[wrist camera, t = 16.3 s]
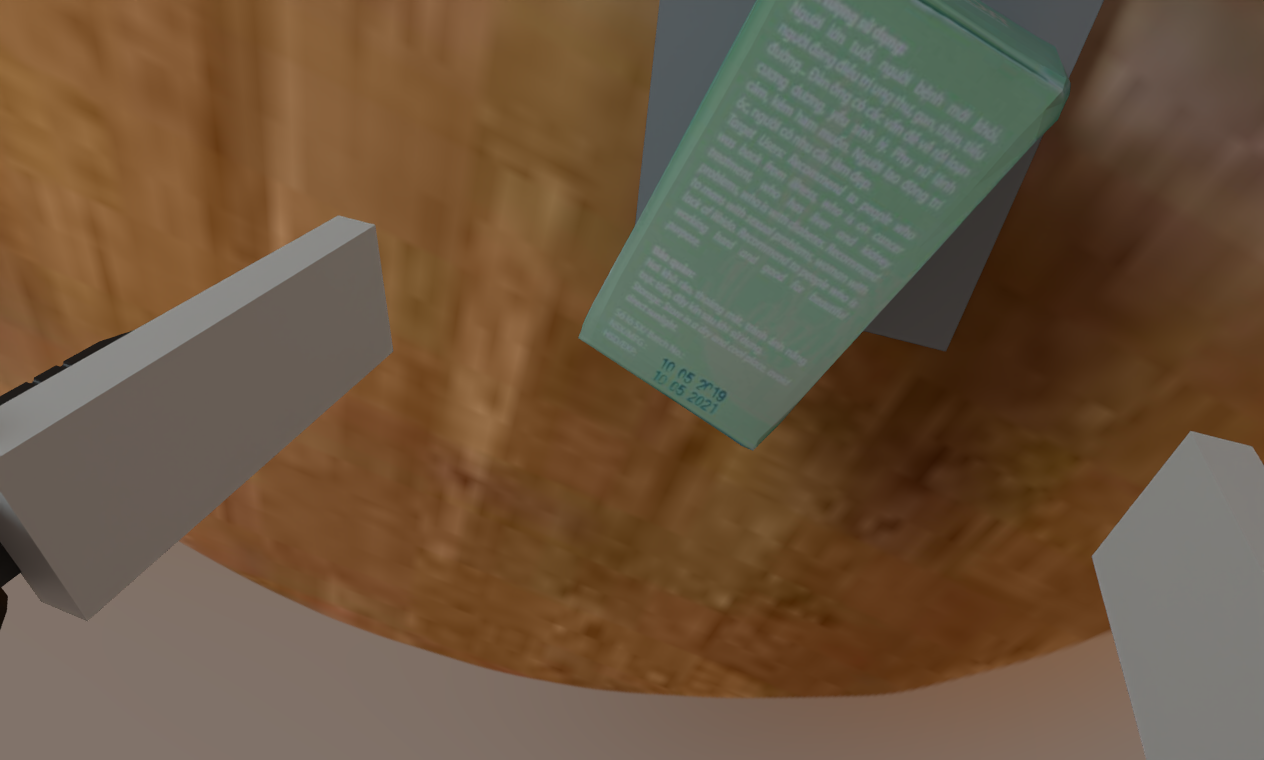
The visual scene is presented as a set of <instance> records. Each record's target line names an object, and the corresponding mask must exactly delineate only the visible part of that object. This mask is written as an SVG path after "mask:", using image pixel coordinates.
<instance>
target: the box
mask: <svg viewBox="0 0 1264 760" xmlns="http://www.w3.org/2000/svg"><path fill="white" fill-rule="evenodd" d="M1070 86H1071V83H1070V81H1069V79H1068V76H1067V74H1066V72H1065V69H1064V67H1063V65H1062V62H1061V60H1060V57H1059V55H1058V52H1057V50H1056V47H1055V46H1053V45H1051V44H1050V43H1048V42H1046V41H1044V40H1042V39H1041V38H1039V37H1037V36H1035V35H1034V34H1032V33H1030V32H1029V31H1027V30H1026V29H1024V28H1022V27H1021V26H1019V25H1018V24H1016V23H1015V22H1013V21H1011V20H1010V19H1008V18H1007V17H1005V16H1003V15H1002V14H1000V13H999V12H997V11H996V10H994V9H992V8H991V7H989V6H988V5H986V4H985V3H983V2H981V1H980V0H756V1H755V3H754V5H753V7H752V9H751V11H750V12H749V14H748V16H747V18H746V20H745V22H744V24H743V26H742V27H741V29H740V31H739V33H738V35H737V37H736V39H735V40H734V42H733V44H732V46H731V48H730V50H729V52H728V53H727V55H726V57H725V59H724V61H723V63H722V65H721V66H720V68H719V70H718V72H717V74H716V76H715V78H714V80H713V81H712V83H711V85H710V87H709V89H708V91H707V93H706V94H705V96H704V98H703V100H702V102H701V104H700V106H699V107H698V109H697V111H696V113H695V115H694V117H693V119H692V121H691V122H690V124H689V126H688V128H687V130H686V132H685V134H684V136H683V137H682V139H681V141H680V143H679V145H678V147H677V149H676V151H675V152H674V154H673V156H672V158H671V160H670V162H669V164H668V166H667V167H666V169H665V171H664V173H663V175H662V177H661V179H660V180H659V182H658V184H657V186H656V188H655V190H654V192H653V194H652V195H651V197H650V199H649V201H648V203H647V205H646V207H645V209H644V210H643V212H642V214H641V216H640V218H639V220H638V222H637V223H636V225H635V227H634V229H633V231H632V233H631V234H630V236H629V238H628V240H627V242H626V243H625V245H624V247H623V249H622V251H621V253H620V254H619V256H618V258H617V260H616V262H615V264H614V265H613V267H612V269H611V271H610V273H609V275H608V277H607V278H606V280H605V282H604V284H603V286H602V288H601V290H600V291H599V293H598V295H597V297H596V299H595V301H594V303H593V305H592V306H591V308H590V310H589V312H588V314H587V316H586V318H585V321H584V323H583V326H582V330H581V333H580V335H579V337H578V338H579V339H581V340H582V341H584V342H585V343H587V344H589V345H590V346H592V347H593V348H595V349H596V350H598V351H599V352H601V353H602V354H604V355H605V356H607V357H608V358H610V359H611V360H613V361H614V362H616V363H617V364H619V365H620V366H622V367H623V368H625V369H627V370H628V371H630V372H631V373H633V374H634V375H636V376H637V377H639V378H640V379H642V380H643V381H645V382H646V383H648V384H649V385H651V386H652V387H654V388H655V389H657V390H658V391H660V392H661V393H663V394H665V395H666V396H668V397H669V398H671V399H672V400H674V401H675V402H677V403H678V404H680V405H681V406H683V407H684V408H686V409H687V410H689V411H690V412H692V413H693V414H695V415H696V416H698V417H699V418H701V419H702V420H704V421H706V422H707V423H709V424H710V425H712V426H713V427H715V428H716V429H718V430H719V431H721V432H722V433H724V434H725V435H727V436H728V437H730V438H731V439H733V440H734V441H735V442H737V443H738V444H740V445H741V446H743V447H746V448H748V449H750V450H754V449H755V448H756V447H757V446H758V445H759V444H760V443H761V442H762V441H763V440H764V439H765V438H766V437H767V436H768V435H769V434H770V433H771V432H772V431H773V430H774V429H775V428H776V427H777V426H778V425H779V424H780V423H781V422H782V421H783V419H784V418H785V417H786V416H787V415H788V414H789V413H790V411H791V410H792V409H793V408H794V407H795V406H796V405H797V403H798V402H799V401H800V400H801V399H802V398H803V397H804V396H805V394H806V393H807V392H808V391H809V390H810V389H811V388H812V387H813V385H814V384H815V383H816V382H817V381H818V380H819V379H820V378H821V377H822V375H823V374H824V373H825V372H826V371H827V370H828V369H829V368H830V367H831V366H832V364H833V363H834V362H835V361H836V360H837V359H838V358H839V357H840V356H841V355H842V353H843V352H844V351H845V350H846V349H847V348H848V347H849V346H850V345H851V344H852V343H853V341H854V340H855V339H856V338H857V337H858V336H859V335H860V334H861V333H862V332H863V331H864V329H865V328H866V327H867V326H868V325H869V324H870V323H871V322H872V321H873V320H874V318H875V317H876V316H877V315H878V314H879V313H880V312H881V311H882V310H883V309H884V308H885V306H886V305H887V304H888V303H889V302H890V301H891V300H892V299H893V298H894V297H895V296H896V295H897V293H898V292H899V291H900V290H901V289H902V288H903V287H904V286H905V285H906V284H907V283H908V282H909V280H910V279H911V278H912V277H913V276H914V275H915V274H916V273H917V272H918V271H919V270H920V269H921V267H922V266H923V265H924V264H925V263H926V262H927V261H928V260H929V259H930V258H931V257H932V255H933V254H934V253H935V252H936V251H937V250H938V249H939V248H940V247H941V245H942V244H943V243H944V242H945V241H946V240H947V239H948V238H949V237H950V235H951V234H952V233H953V232H954V231H955V230H956V229H957V228H958V227H959V225H960V224H961V223H962V222H963V221H964V220H965V219H966V218H967V217H968V215H969V214H970V213H971V212H972V211H973V210H974V209H975V208H976V207H977V205H978V204H979V203H980V202H981V201H982V200H983V199H984V198H985V197H986V195H987V194H988V193H989V192H990V191H991V190H992V189H993V188H994V187H995V186H996V185H997V183H998V182H999V181H1000V180H1001V179H1002V178H1003V177H1004V176H1005V175H1006V174H1007V172H1008V171H1009V170H1010V169H1011V168H1012V167H1013V166H1014V165H1015V164H1016V163H1017V161H1018V160H1019V159H1020V158H1021V157H1022V156H1023V155H1024V154H1025V153H1026V152H1027V151H1028V149H1029V148H1030V147H1031V146H1032V145H1033V144H1034V143H1035V142H1036V141H1037V140H1038V139H1039V138H1040V137H1041V136H1042V135H1043V134H1044V133H1045V132H1046V131H1047V130H1048V129H1049V128H1050V127H1051V126H1052V125H1053V124H1054V123H1055V122H1056V121H1057V120H1058V118H1059V116H1060V114H1061V111H1062V109H1063V107H1064V105H1065V103H1066V101H1067V99H1068V96H1069V94H1070Z"/></svg>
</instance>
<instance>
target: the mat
mask: <svg viewBox="0 0 1264 760" xmlns="http://www.w3.org/2000/svg"><path fill="white" fill-rule="evenodd" d="M755 1H756V0H660V4H659V13H658V22H657V31H656V40H655V50H654V59H653V68H652V77H651V86H650V95H649V104H648V113H647V122H646V132H645V141H644V150H643V159H642V168H641V177H640V186H639V195H638V204H637V214H636V223H637V222H638V220H639V218H640V216H641V214H642V212H643V210H644V209H645V207H646V205H647V203H648V201H649V199H650V197H651V195H652V194H653V192H654V190H655V188H656V186H657V184H658V182H659V180H660V179H661V177H662V175H663V173H664V171H665V169H666V167H667V166H668V164H669V162H670V160H671V158H672V156H673V154H674V152H675V151H676V149H677V147H678V145H679V143H680V141H681V139H682V137H683V136H684V134H685V132H686V130H687V128H688V126H689V124H690V122H691V121H692V119H693V117H694V115H695V113H696V111H697V109H698V107H699V106H700V104H701V102H702V100H703V98H704V96H705V94H706V93H707V91H708V89H709V87H710V85H711V83H712V81H713V80H714V78H715V76H716V74H717V72H718V70H719V68H720V66H721V65H722V63H723V61H724V59H725V57H726V55H727V53H728V52H729V50H730V48H731V46H732V44H733V42H734V40H735V39H736V37H737V35H738V33H739V31H740V29H741V27H742V26H743V24H744V22H745V20H746V18H747V16H748V14H749V12H750V11H751V9H752V7H753V5H754V3H755ZM980 1H981V2H983V3H985V4H986V5H988V6H989V7H991V8H992V9H994V10H996V11H997V12H999V13H1000V14H1002V15H1003V16H1005V17H1007V18H1008V19H1010V20H1011V21H1013V22H1015V23H1016V24H1018V25H1019V26H1021V27H1022V28H1024V29H1026V30H1027V31H1029V32H1030V33H1032V34H1034V35H1035V36H1037V37H1039V38H1041V39H1042V40H1044V41H1046V42H1048V43H1050V44H1051V45H1053V46H1055V47H1056V50H1057V52H1058V55H1059V57H1060V60H1061V62H1062V65H1063V67H1064V69H1065V72H1066V74H1067V76H1068V79H1069V77H1070V74H1071V72H1072V70H1073V68H1074V65H1075V63H1076V61H1077V59H1078V57H1079V54H1080V52H1081V50H1082V48H1083V45H1084V43H1085V41H1086V39H1087V37H1088V34H1089V32H1090V30H1091V28H1092V25H1093V23H1094V21H1095V19H1096V17H1097V14H1098V12H1099V10H1100V8H1101V5H1102V3H1103V1H1104V0H980ZM1042 137H1043V135H1042V136H1041V137H1040V138H1039V139H1038V140H1037V141H1036V142H1035V143H1034V144H1033V145H1032V146H1031V147H1030V148H1029V149H1028V151H1027V152H1026V153H1025V154H1024V155H1023V156H1022V157H1021V158H1020V159H1019V160H1018V161H1017V163H1016V164H1015V165H1014V166H1013V167H1012V168H1011V169H1010V170H1009V171H1008V172H1007V174H1006V175H1005V176H1004V177H1003V178H1002V179H1001V180H1000V181H999V182H998V183H997V185H996V186H995V187H994V188H993V189H992V190H991V191H990V192H989V193H988V194H987V195H986V197H985V198H984V199H983V200H982V201H981V202H980V203H979V204H978V205H977V207H976V208H975V209H974V210H973V211H972V212H971V213H970V214H969V215H968V217H967V218H966V219H965V220H964V221H963V222H962V223H961V224H960V225H959V227H958V228H957V229H956V230H955V231H954V232H953V233H952V234H951V235H950V237H949V238H948V239H947V240H946V241H945V242H944V243H943V244H942V245H941V247H940V248H939V249H938V250H937V251H936V252H935V253H934V254H933V255H932V257H931V258H930V259H929V260H928V261H927V262H926V263H925V264H924V265H923V266H922V267H921V269H920V270H919V271H918V272H917V273H916V274H915V275H914V276H913V277H912V278H911V279H910V280H909V282H908V283H907V284H906V285H905V286H904V287H903V288H902V289H901V290H900V291H899V292H898V293H897V295H896V296H895V297H894V298H893V299H892V300H891V301H890V302H889V303H888V304H887V305H886V306H885V308H884V309H883V310H882V311H881V312H880V313H879V314H878V315H877V316H876V317H875V318H874V320H873V321H872V322H871V323H870V324H869V325H868V326H867V327H866V328H865V329H864V331H866V332H870V333H874V334H878V335H882V336H886V337H890V338H894V339H898V340H902V341H906V342H910V343H914V344H918V345H922V346H926V347H930V348H934V349H938V350H942V351H946V350H947V348H948V346H949V344H950V341H951V339H952V337H953V335H954V332H955V330H956V328H957V326H958V323H959V321H960V319H961V317H962V315H963V312H964V310H965V308H966V306H967V303H968V301H969V299H970V297H971V295H972V292H973V290H974V288H975V286H976V283H977V281H978V279H979V277H980V275H981V272H982V270H983V268H984V266H985V263H986V261H987V259H988V257H989V255H990V252H991V250H992V248H993V246H994V243H995V241H996V239H997V237H998V235H999V232H1000V230H1001V228H1002V226H1003V223H1004V221H1005V219H1006V217H1007V215H1008V212H1009V210H1010V208H1011V206H1012V203H1013V201H1014V199H1015V197H1016V194H1017V192H1018V190H1019V188H1020V186H1021V183H1022V181H1023V179H1024V177H1025V174H1026V172H1027V170H1028V168H1029V166H1030V163H1031V161H1032V159H1033V157H1034V154H1035V152H1036V150H1037V148H1038V146H1039V143H1040V141H1041V139H1042ZM636 223H635V225H636Z"/></svg>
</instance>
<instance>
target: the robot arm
mask: <svg viewBox="0 0 1264 760" xmlns="http://www.w3.org/2000/svg"><path fill="white" fill-rule="evenodd" d="M392 352H393V346H392V339H391V332H390V325H389V318H388V311H387V304H386V297H385V290H384V284H383V277H382V270H381V263H380V256H379V249H378V242H377V235H376V228H375V225H373V224H369V223H365V222H362V221H358V220H354V219H350V218H346V217H342V216H337V217H335V218H333V219H331V220H330V221H328V222H326V223H324V224H322V225H321V226H319V227H317V228H315V229H314V230H312V231H310V232H308V233H306V234H305V235H303V236H301V237H299V238H298V239H296V240H294V241H292V242H290V243H289V244H287V245H285V246H283V247H282V248H280V249H278V250H276V251H274V252H273V253H271V254H269V255H267V256H266V257H264V258H262V259H260V260H258V261H257V262H255V263H253V264H251V265H250V266H248V267H246V268H244V269H242V270H241V271H239V272H237V273H235V274H234V275H232V276H230V277H228V278H226V279H225V280H223V281H221V282H219V283H218V284H216V285H214V286H212V287H210V288H209V289H207V290H205V291H203V292H202V293H200V294H198V295H196V296H194V297H193V298H191V299H189V300H187V301H186V302H184V303H182V304H180V305H178V306H177V307H175V308H173V309H171V310H170V311H168V312H166V313H164V314H162V315H161V316H159V317H157V318H155V319H153V320H152V321H150V322H148V323H146V324H145V325H143V326H141V327H139V328H137V329H136V330H133V331H130V332H127V333H124V334H121V335H118V336H115V337H112V338H109V339H106V340H103V341H100V342H98V343H96V344H94V345H92V346H91V347H89V348H87V349H85V350H83V351H81V352H80V353H78V354H76V355H74V356H72V357H71V358H69V359H67V360H65V361H63V363H64V364H63V365H62V366H61V367H59V366H54V367H52V368H51V369H49V370H47V371H45V372H43V373H42V374H40V375H38V376H36V377H34V381H33V382H32V383H27V382H25V383H23V384H22V385H20V386H18V387H16V388H14V389H13V390H11V391H9V392H7V393H5V394H4V395H2V396H0V629H1V626H2V623H3V620H4V617H5V614H6V612H7V600H8V596H7V594H6V593H5V592H4V591H3V589H2V588H1V587H2V586H4V585H5V584H6V583H7V582H8V581H10V580H11V579H13V578H14V577H15V576H17V575H18V574H19V573H21V574H22V575H23V577H24V578H25V580H26V581H27V582H28V584H29V585H30V586H31V588H32V589H33V591H34V592H35V594H36V595H37V596H38V598H39V599H40V601H41V602H44V603H46V604H48V605H51V606H53V607H55V608H58V609H60V610H62V611H65V612H67V613H69V614H72V615H74V616H77V617H79V618H81V619H84V620H86V621H88V620H89V619H90V618H92V617H93V616H94V615H95V614H96V613H97V612H98V611H100V610H101V609H102V608H103V607H104V606H105V605H106V604H107V603H108V602H110V601H111V600H112V599H113V598H114V597H115V596H116V595H118V594H119V593H120V592H121V591H122V590H123V589H124V588H126V586H128V585H129V584H130V583H131V582H132V581H133V580H135V579H136V578H137V577H138V576H139V575H140V574H141V573H142V572H144V571H145V570H146V569H147V568H148V567H149V566H150V565H152V564H153V563H154V562H155V561H156V560H157V559H158V558H160V557H161V556H162V555H163V554H164V553H165V552H166V551H168V549H170V548H171V547H172V546H173V545H174V544H175V543H176V542H178V541H179V540H180V539H181V538H182V537H183V536H185V535H186V534H187V533H188V532H189V531H190V530H191V529H192V528H194V527H195V526H196V525H197V524H198V523H199V522H200V521H202V520H203V519H204V518H205V517H206V516H207V515H208V514H209V513H211V512H212V511H213V510H214V509H215V508H216V507H217V506H218V505H220V504H221V503H222V502H223V501H224V500H225V499H226V498H228V497H229V496H230V495H231V494H232V493H233V492H234V491H235V490H237V489H238V488H239V487H240V486H241V485H242V484H243V483H245V482H246V481H247V480H248V479H249V478H250V477H251V476H252V475H254V474H255V473H256V472H257V471H258V470H259V469H260V468H262V467H263V466H264V465H265V464H266V463H267V462H268V461H269V460H271V459H272V458H273V457H274V456H275V455H276V454H277V453H279V452H280V451H281V450H282V449H283V448H284V447H285V446H286V445H288V444H289V443H290V442H291V441H292V440H293V439H294V438H296V437H297V436H298V435H299V434H300V433H301V432H302V431H303V430H305V429H306V428H307V427H308V426H309V425H310V424H311V423H313V422H314V421H315V420H316V419H317V418H318V417H319V416H320V415H322V414H323V413H324V412H325V411H326V410H327V409H328V408H330V407H331V406H332V405H333V404H334V403H335V402H336V401H337V400H339V399H340V398H341V397H342V396H343V395H344V394H345V393H347V392H348V391H349V390H350V389H351V388H352V387H353V386H354V385H356V384H357V383H358V382H359V381H360V380H361V379H362V378H364V377H365V376H366V375H367V374H368V373H369V372H370V371H371V370H373V369H374V368H375V367H376V366H377V365H378V364H379V363H381V362H382V361H383V360H384V359H385V358H386V357H387V356H388V355H390V354H391V353H392ZM1092 559H1093V563H1094V567H1095V570H1096V574H1097V578H1098V582H1099V585H1100V589H1101V593H1102V597H1103V600H1104V604H1105V608H1106V611H1107V615H1108V619H1109V623H1110V626H1111V630H1112V634H1113V638H1114V641H1115V645H1116V648H1117V652H1118V656H1119V660H1120V664H1121V667H1122V671H1123V675H1124V679H1125V682H1126V686H1127V690H1128V694H1129V697H1130V701H1131V705H1132V708H1133V712H1134V716H1135V719H1136V723H1137V727H1138V730H1139V734H1140V738H1141V742H1142V746H1143V750H1144V753H1145V757H1146V760H1264V465H1263V463H1262V462H1261V460H1260V459H1259V457H1258V455H1257V454H1256V452H1255V450H1254V449H1253V447H1252V446H1248V445H1244V444H1240V443H1236V442H1232V441H1228V440H1224V439H1220V438H1216V437H1212V436H1208V435H1204V434H1200V433H1196V432H1192V431H1190V432H1189V434H1188V435H1187V436H1186V437H1185V439H1184V440H1183V441H1182V442H1181V444H1180V445H1179V446H1178V448H1177V449H1176V450H1175V451H1174V453H1173V454H1172V455H1171V456H1170V458H1169V459H1168V460H1167V462H1166V463H1165V464H1164V465H1163V467H1162V468H1161V469H1160V470H1159V472H1158V473H1157V474H1156V475H1155V477H1154V478H1153V479H1152V481H1151V482H1150V483H1149V484H1148V486H1147V487H1146V488H1145V489H1144V491H1143V492H1142V493H1141V495H1140V496H1139V497H1138V498H1137V500H1136V501H1135V502H1134V503H1133V505H1132V506H1131V507H1130V508H1129V510H1128V511H1127V512H1126V514H1125V515H1124V516H1123V517H1122V519H1121V520H1120V521H1119V522H1118V524H1117V525H1116V526H1115V527H1114V529H1113V530H1112V531H1111V533H1110V534H1109V535H1108V536H1107V538H1106V539H1105V540H1104V541H1103V543H1102V544H1101V545H1100V547H1099V548H1098V549H1097V550H1096V552H1095V553H1094V554H1093V555H1092Z"/></svg>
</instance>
